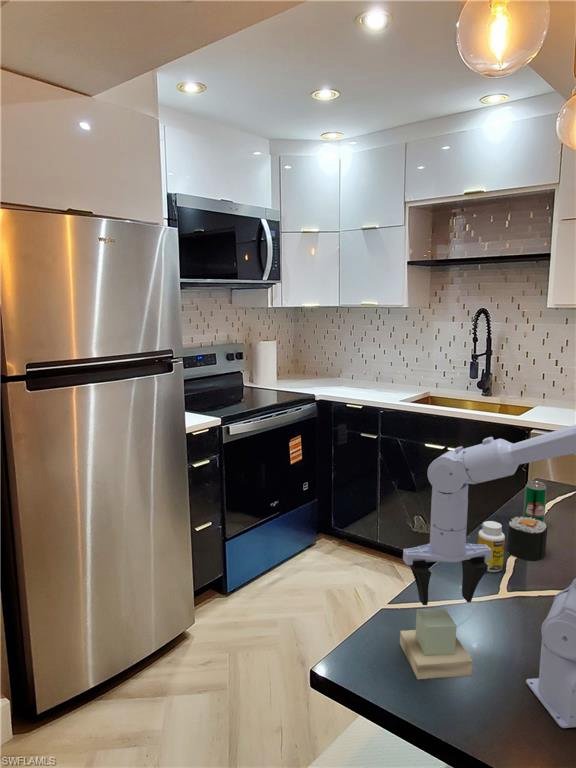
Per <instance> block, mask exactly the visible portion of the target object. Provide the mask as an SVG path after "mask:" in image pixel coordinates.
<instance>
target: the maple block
mask: <svg viewBox="0 0 576 768" xmlns="http://www.w3.org/2000/svg"><path fill="white" fill-rule="evenodd" d="M415 634H416V629H410V630H409V629H408V630H407V629H406V630H400V631H399V645H400V647H401V649H402V650H403V652H404V654H405V657H406V659H407V661H408V663H409V665H410V667H411V669H412V671H413V673H414V675H415V677H416V679H417V680H426V679H427V680H429V679H439V678H452V677H465V676H473V662H474V661H473V659H472V658H471V656H470V655H469V653H468V652H467V651H466V649H465V648H464V646H463V645H462V643H461V641H460V640H459V638H457V636H456V643H455V654H452V655H424V653H423V651H422V649H421V647H420V645H419V643H418V641H417V639H416V637H415ZM428 678H429V679H428Z"/></svg>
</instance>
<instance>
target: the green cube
mask: <svg viewBox="0 0 576 768" xmlns="http://www.w3.org/2000/svg"><path fill="white" fill-rule="evenodd" d="M415 619H416V620H415V630H416V634H415V637H416V639H417V641H418V643H419V645H420V647H421V649H422V651H423V653H424V655H452V654H455V643H456V637H457V625H456V623H455V622H454V620H453V618H452V616H451V615H450V614H449V612H448V610H447V609H446V608H425V609H416V616H415Z"/></svg>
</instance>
